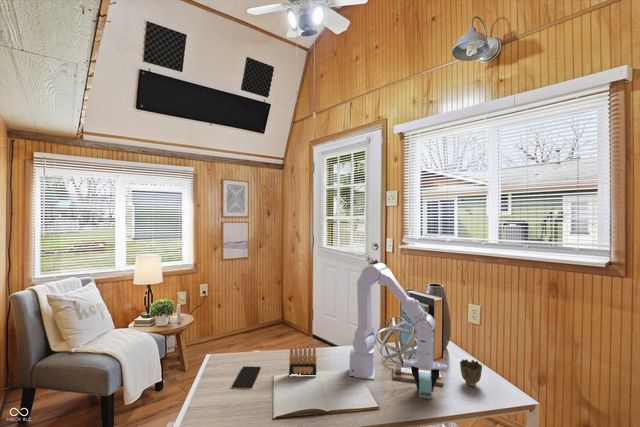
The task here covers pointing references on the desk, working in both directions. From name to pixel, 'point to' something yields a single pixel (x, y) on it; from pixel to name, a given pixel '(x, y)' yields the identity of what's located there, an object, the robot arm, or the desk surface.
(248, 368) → the smartphone
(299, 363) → the ammunition clip
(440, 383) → the mounting board
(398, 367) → the rail
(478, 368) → the cup
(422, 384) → the block
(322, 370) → the desk surface
